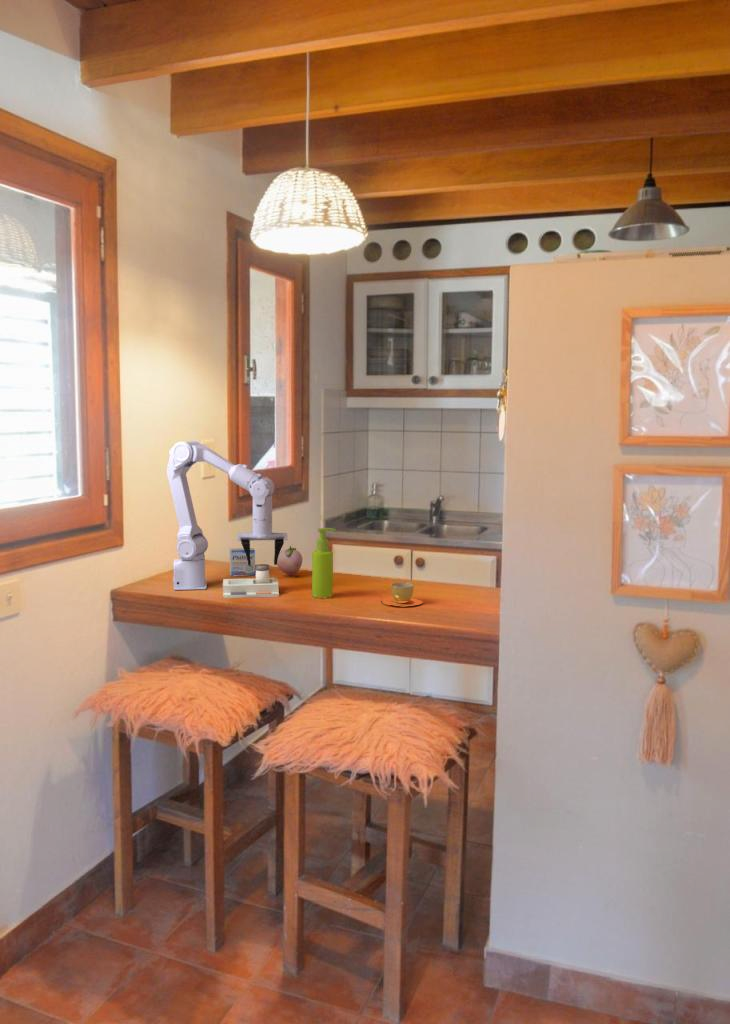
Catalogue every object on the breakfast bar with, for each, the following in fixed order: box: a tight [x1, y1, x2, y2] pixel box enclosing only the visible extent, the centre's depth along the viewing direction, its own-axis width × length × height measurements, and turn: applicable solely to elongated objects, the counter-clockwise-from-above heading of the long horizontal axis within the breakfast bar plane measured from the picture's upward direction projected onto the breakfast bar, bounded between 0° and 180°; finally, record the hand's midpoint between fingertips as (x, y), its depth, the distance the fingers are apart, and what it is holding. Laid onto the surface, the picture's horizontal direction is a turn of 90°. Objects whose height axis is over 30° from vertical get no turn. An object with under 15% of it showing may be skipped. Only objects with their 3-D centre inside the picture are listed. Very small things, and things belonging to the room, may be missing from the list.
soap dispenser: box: [311, 527, 337, 599], centre depth 227 cm, size 6×7×20 cm
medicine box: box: [229, 547, 256, 577], centre depth 255 cm, size 8×4×9 cm, turn 104°
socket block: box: [222, 577, 280, 599], centre depth 231 cm, size 16×12×3 cm
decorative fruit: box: [276, 545, 303, 577], centre depth 253 cm, size 9×8×10 cm
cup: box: [390, 581, 415, 602], centre depth 221 cm, size 12×12×5 cm
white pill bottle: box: [255, 563, 270, 584], centre depth 232 cm, size 4×4×7 cm
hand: (262, 564), depth 232 cm, fingers open, 7 cm apart
